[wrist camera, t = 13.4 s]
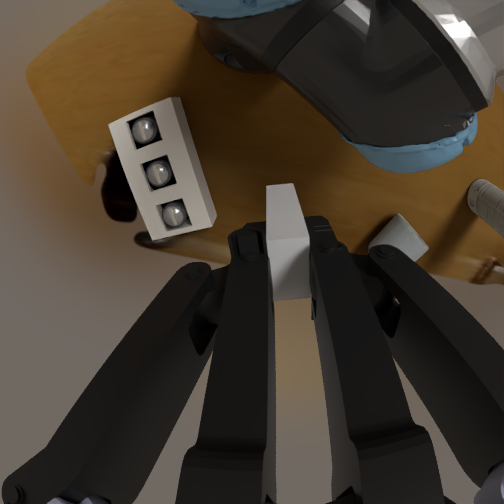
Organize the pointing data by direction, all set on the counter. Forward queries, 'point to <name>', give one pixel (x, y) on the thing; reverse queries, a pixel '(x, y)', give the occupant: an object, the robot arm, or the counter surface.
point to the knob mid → (160, 172)
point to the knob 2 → (175, 213)
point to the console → (182, 162)
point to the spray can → (487, 203)
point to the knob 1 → (145, 129)
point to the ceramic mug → (401, 238)
